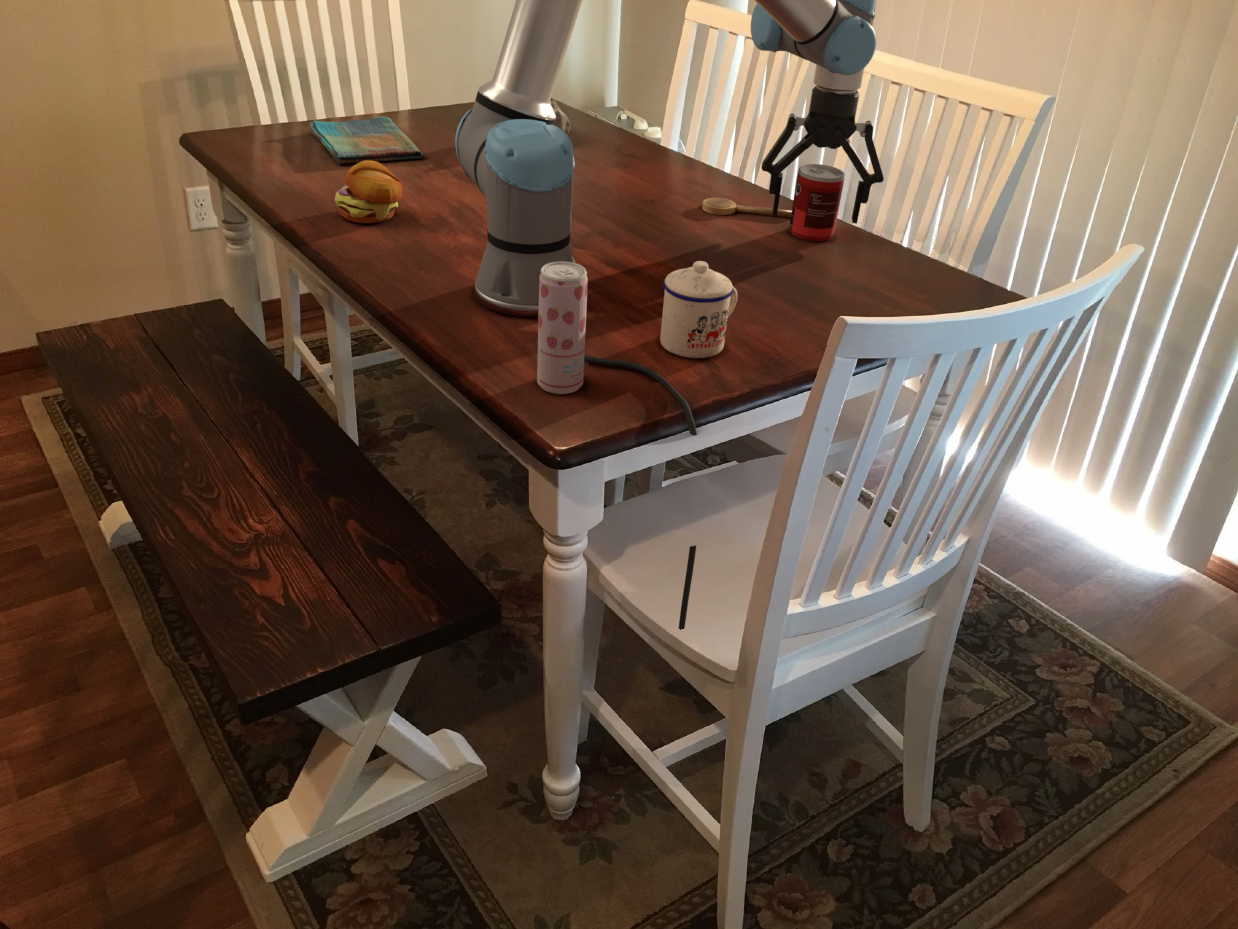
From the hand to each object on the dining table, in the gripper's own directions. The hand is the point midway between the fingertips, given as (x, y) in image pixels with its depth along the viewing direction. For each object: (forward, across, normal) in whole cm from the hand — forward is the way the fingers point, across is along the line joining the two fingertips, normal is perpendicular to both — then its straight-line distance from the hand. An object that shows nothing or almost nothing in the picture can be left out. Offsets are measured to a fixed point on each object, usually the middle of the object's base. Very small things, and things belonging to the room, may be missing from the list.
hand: (814, 216), depth 171 cm
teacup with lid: (+3, +16, +47) cm, 50 cm away
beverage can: (+3, +32, +64) cm, 71 cm away
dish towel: (+3, +89, -23) cm, 92 cm away
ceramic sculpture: (+3, +56, -42) cm, 70 cm away
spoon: (+3, +11, -7) cm, 14 cm away
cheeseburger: (+3, +74, +15) cm, 75 cm away
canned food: (+3, 0, 0) cm, 3 cm away
